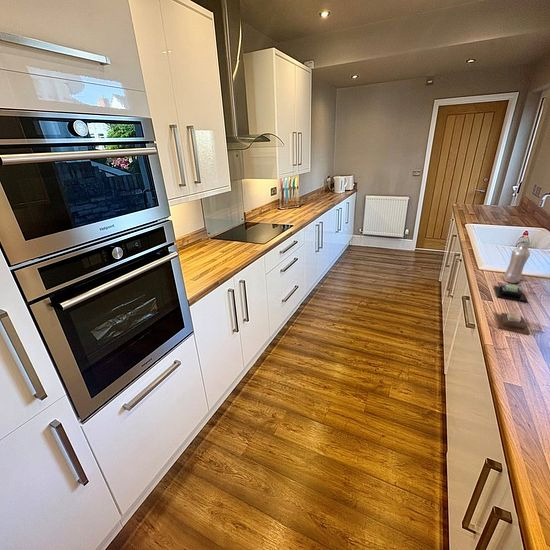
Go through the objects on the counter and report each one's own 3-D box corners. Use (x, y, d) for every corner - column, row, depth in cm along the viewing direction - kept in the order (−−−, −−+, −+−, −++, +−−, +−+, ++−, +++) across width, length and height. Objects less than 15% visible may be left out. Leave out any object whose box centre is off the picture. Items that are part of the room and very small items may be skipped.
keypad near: (522, 322, 110) (525, 315, 109) (528, 335, 103) (531, 328, 102) (494, 316, 114) (496, 310, 113) (498, 328, 107) (500, 322, 106)
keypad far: (520, 292, 131) (522, 286, 129) (525, 303, 123) (528, 296, 121) (493, 288, 135) (495, 282, 134) (496, 297, 127) (499, 291, 126)
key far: (515, 289, 128) (516, 285, 128) (516, 292, 125) (518, 289, 125) (505, 287, 130) (506, 284, 129) (506, 291, 127) (507, 287, 126)
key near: (517, 318, 108) (519, 314, 108) (519, 323, 106) (521, 319, 105) (506, 316, 110) (508, 312, 109) (508, 320, 107) (509, 317, 106)
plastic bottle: (521, 285, 136) (537, 245, 128) (504, 283, 139) (518, 244, 130) (516, 279, 142) (531, 241, 133) (500, 277, 144) (513, 239, 135)
